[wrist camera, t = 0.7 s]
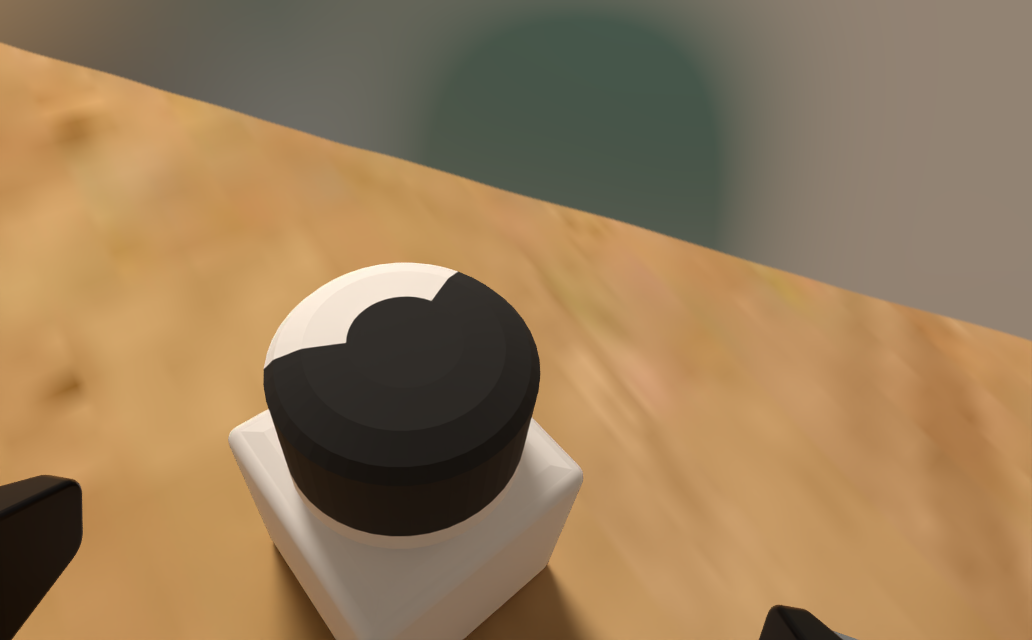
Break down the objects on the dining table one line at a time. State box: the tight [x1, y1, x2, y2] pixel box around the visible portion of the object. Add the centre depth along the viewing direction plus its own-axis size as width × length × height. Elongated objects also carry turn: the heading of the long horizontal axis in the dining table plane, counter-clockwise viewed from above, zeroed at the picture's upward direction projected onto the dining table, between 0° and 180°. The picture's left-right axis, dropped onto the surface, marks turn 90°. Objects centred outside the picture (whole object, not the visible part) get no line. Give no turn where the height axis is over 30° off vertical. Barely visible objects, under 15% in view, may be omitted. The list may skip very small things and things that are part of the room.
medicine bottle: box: [228, 263, 583, 640], centre depth 18 cm, size 7×7×12 cm
